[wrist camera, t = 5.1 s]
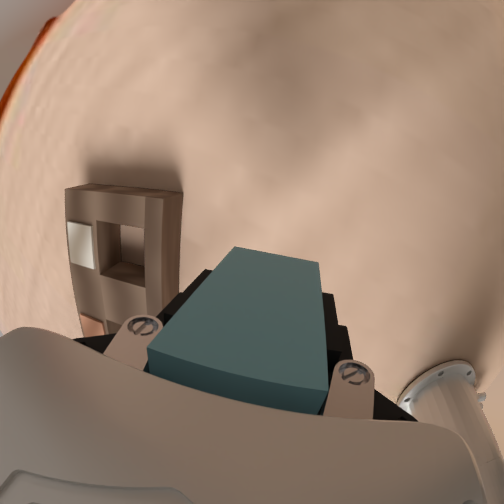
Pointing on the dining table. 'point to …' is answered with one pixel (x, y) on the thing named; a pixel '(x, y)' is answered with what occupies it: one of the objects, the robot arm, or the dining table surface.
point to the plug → (250, 334)
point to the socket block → (109, 253)
